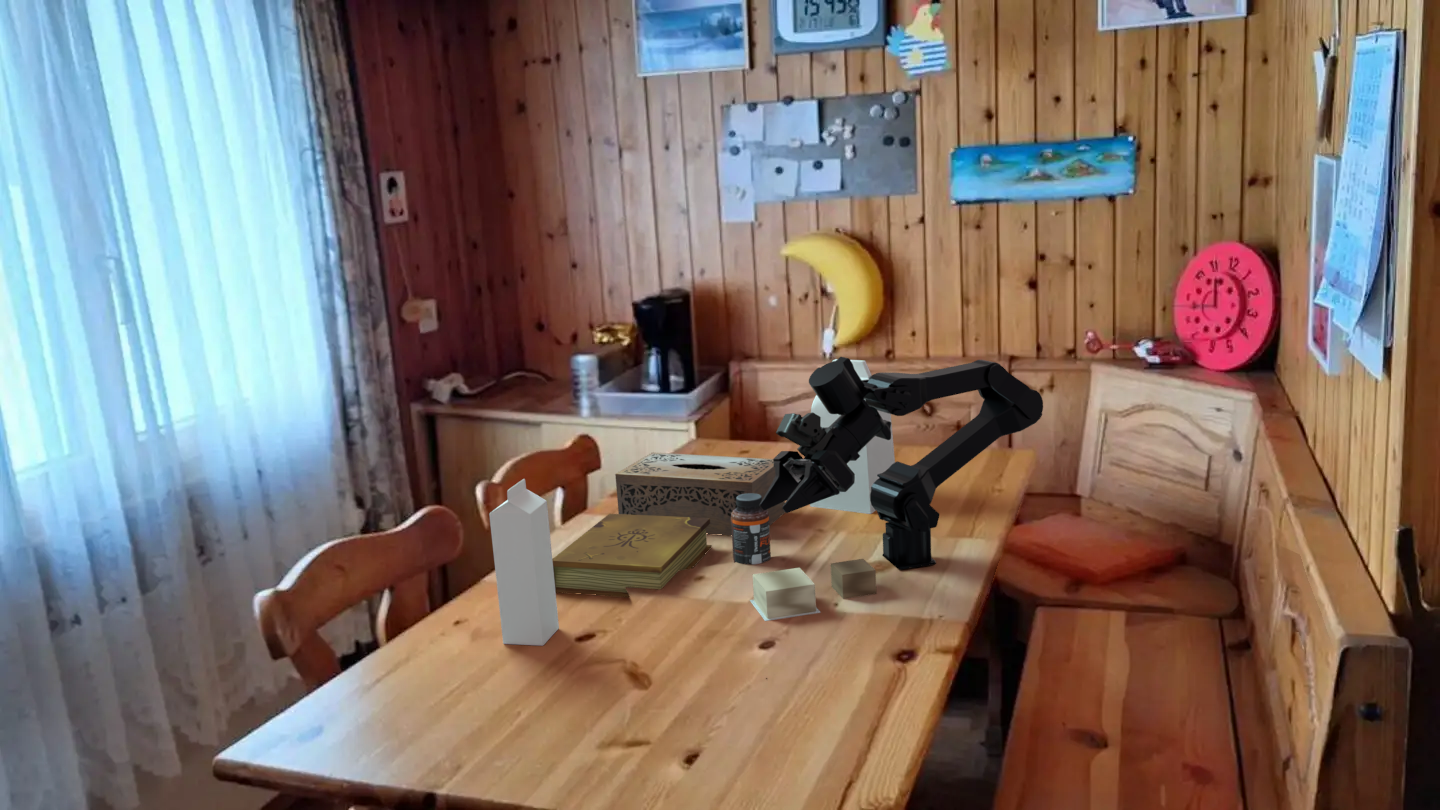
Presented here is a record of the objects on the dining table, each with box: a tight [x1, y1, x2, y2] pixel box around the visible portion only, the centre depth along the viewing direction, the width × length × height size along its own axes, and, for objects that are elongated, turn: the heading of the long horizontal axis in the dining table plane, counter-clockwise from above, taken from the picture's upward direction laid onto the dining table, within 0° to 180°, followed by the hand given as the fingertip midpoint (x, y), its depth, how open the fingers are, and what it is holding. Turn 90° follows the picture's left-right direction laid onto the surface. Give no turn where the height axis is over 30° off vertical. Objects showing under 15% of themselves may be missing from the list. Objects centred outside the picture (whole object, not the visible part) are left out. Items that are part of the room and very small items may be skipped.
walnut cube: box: [830, 558, 877, 600], centre depth 174 cm, size 5×5×5 cm
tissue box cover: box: [614, 451, 786, 536], centre depth 214 cm, size 26×14×10 cm, turn 66°
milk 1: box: [488, 478, 560, 646], centre depth 166 cm, size 6×6×22 cm
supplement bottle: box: [731, 493, 772, 565], centre depth 189 cm, size 6×6×11 cm
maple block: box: [752, 567, 817, 619], centre depth 170 cm, size 7×7×4 cm
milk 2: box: [809, 358, 896, 515], centre depth 217 cm, size 12×12×26 cm
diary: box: [552, 513, 713, 598], centre depth 192 cm, size 23×19×6 cm
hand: (772, 509), depth 174 cm, fingers open, 9 cm apart
